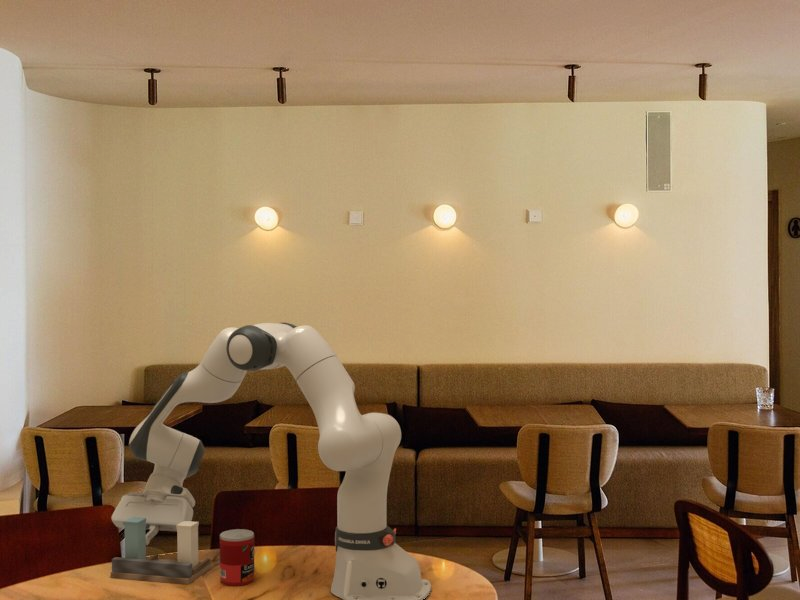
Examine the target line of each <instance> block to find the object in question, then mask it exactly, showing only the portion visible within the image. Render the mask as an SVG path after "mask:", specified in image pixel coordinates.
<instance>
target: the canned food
mask: <svg viewBox="0 0 800 600" xmlns="http://www.w3.org/2000/svg"><path fill="white" fill-rule="evenodd" d="M219 579H220V582H221V584H223V585H226V586H229V587H241V586H242V587H243V586H246V585H249V584H251V583H252V582H254V579H255V533H254V532H253V531H252V530H249V529H246V528H245V529H244V528H242V529H240V528H236V529H234V528H233V529H229V530H228V529H227V530H225V531H222V532H221V533H220V534H219Z"/></svg>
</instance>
